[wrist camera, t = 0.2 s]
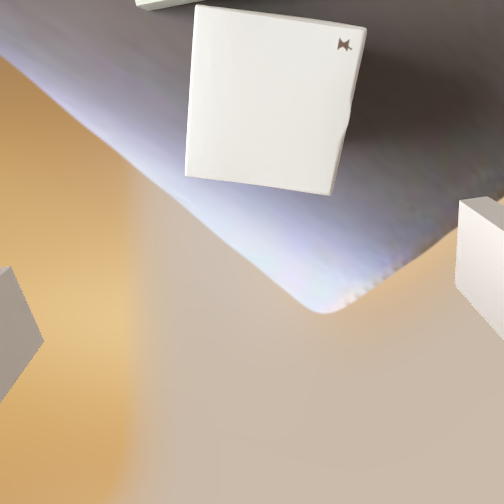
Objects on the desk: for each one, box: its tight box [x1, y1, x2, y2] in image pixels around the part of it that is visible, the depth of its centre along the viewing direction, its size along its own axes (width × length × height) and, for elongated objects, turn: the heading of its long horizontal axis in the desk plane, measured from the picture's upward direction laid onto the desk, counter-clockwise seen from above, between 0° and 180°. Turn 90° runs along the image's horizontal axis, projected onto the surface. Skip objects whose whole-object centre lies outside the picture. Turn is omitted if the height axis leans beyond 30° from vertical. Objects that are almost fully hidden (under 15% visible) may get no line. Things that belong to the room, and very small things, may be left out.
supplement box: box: [185, 4, 367, 195], centre depth 29 cm, size 9×9×15 cm
